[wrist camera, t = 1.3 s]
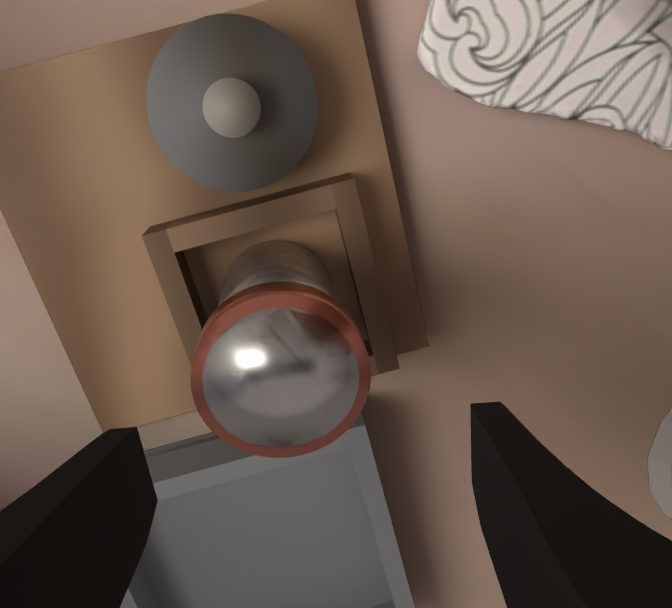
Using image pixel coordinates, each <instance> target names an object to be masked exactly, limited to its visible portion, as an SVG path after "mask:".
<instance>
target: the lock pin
mask: <svg viewBox="0 0 672 608" xmlns="http://www.w3.org/2000/svg"><path fill="white" fill-rule="evenodd" d="M370 382H371V367H370V362H369V357H368V354H367V351H366V348H365V345H364V342H363V340H362V337H361V334H360V332H359V329H358V327H357V325H356V323H355V321H354V319H353V318H352V317H351V315H350V314H349V312H348V311H347V310H346V309H345V308H344V307H343V306H342V305H341V304H340V303H339V302H338V299H337V296H336V293H335V289H334V286H333V283H332V280H331V277H330V274H329V272H328V270H327V268H326V266H325V264H324V263H323V261H322V260H321V259H320V258H319V257H318V256H317V255H316V254H315V253H314V252H313V251H311V250H310V249H308V248H307V247H305V246H303V245H301V244H298V243H295V242H292V241H287V240H268V241H264V242H260V243H257V244H255V245H253V246H251V247H249V248H247V249H246V250H244V251H243V252H242V253H241V254H239V255H238V256H237V257H236V259H235V260H234V261H233V262H232V264H231V265H230V267H229V268H228V271H227V273H226V275H225V279H224V282H223V287H222V291H221V295H220V299H219V304H218V307H217V309H216V310H215V311H214V312H213V313H212V314H211V316H210V317H209V319H208V320H207V322H206V323H205V325H204V327H203V329H202V331H201V333H200V337H199V340H198V343H197V347H196V350H195V354H194V358H193V361H192V366H191V373H190V385H191V391H192V396H193V400H194V403H195V406H196V408H197V410H198V412H199V414H200V416H201V417H202V419H203V421H204V422H205V424H206V425H207V426H208V427H209V428H210V429H211V430H212V432H213V433H215V434H216V435H217V436H218V437H219V438H220V439H222V440H223V441H225V442H226V443H228V444H229V445H231V446H233V447H235V448H237V449H239V450H241V451H244V452H246V453H249V454H253V455H257V456H262V457H270V458H287V457H296V456H300V455H305V454H308V453H311V452H314V451H317V450H319V449H321V448H323V447H325V446H327V445H329V444H330V443H332V442H333V441H335V440H336V439H338V438H339V437H340V436H341V435H343V434H344V433H345V432H346V431H347V430H348V429H349V428H350V427H351V426H352V424H353V423H354V422H355V421H356V419H357V418H358V416H359V415H360V413H361V411H362V409H363V407H364V405H365V403H366V400H367V397H368V393H369V389H370Z"/></svg>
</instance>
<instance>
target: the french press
mask: <svg viewBox="0 0 672 608" xmlns="http://www.w3.org/2000/svg"><path fill="white" fill-rule="evenodd" d="M648 473H649V489H650V492H651V494H652V495H653V497H654V499H655V500H656V502H657V503H658V505H659V506H660V508H661V509H662V511H663V512H664V514H665V515H666V517H668V518H670V519H672V409H671V410H670V411H669V413H668V414H667V415H666V416H665V417H664V419H663V420H662V421H661V423H660V426H659V429H658V431H657V434H656V437H655V439H654V442H653V445H652V447H651V450H650V453H649V455H648Z"/></svg>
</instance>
